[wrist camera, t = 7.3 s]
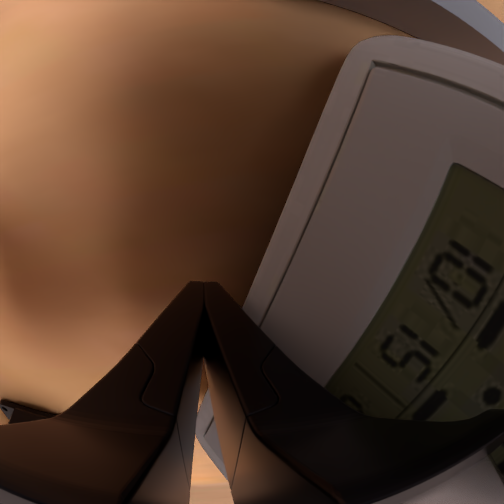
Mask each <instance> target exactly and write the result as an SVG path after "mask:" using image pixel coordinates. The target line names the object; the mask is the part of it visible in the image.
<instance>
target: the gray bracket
mask: <svg viewBox="0 0 504 504" xmlns="http://www.w3.org/2000/svg"><path fill="white" fill-rule="evenodd" d="M318 1H322V2H326V3H329V4H332V5H336V6H339V7H342V8H345V9H348V10H351V11H354V12H357V13H360V14H363V15H365V16H368V17H371V18H373V19H376V20H378V21H381V22H383V23H386V24H388V25H390V26H393V27H395V28H397V29H399V30H402V31H404V32H406V33H408V34H410V35H412V36H414V37H416V38H418V39H421V40H425V41H429V42H433V43H437V44H441V45H445V46H449V47H452V48H456V49H459V50H462V51H465V52H468V53H471V54H474V55H477V56H480V57H483V58H486V59H489V60H491V61H494V62H496V63H499V64H501V65H504V24H503V23H502V22H501V21H500V20H499V19H498V18H497V17H495V16H494V15H493V14H492V13H491V12H490V11H488V10H487V9H486V8H485V7H484V6H482V5H481V4H480V3H479V2H477V1H476V0H318Z"/></svg>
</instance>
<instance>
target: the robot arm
mask: <svg viewBox="0 0 504 504" xmlns="http://www.w3.org/2000/svg"><path fill="white" fill-rule="evenodd" d="M203 357H204V364H205V370H206V376H207V381H208V387H209V392H210V398H211V403H212V408H213V413H214V418H215V423H216V428H217V433H218V438H219V442H220V447H221V451H222V456H223V460H224V464H225V469H226V473H227V477H228V481H229V485H230V489H231V493H232V497H233V501H234V504H504V477H503V475H502V474H501V472H500V470H499V468H498V466H497V464H496V463H495V461H494V459H493V457H492V456H491V453H492V452H493V451H494V450H496V449H497V448H498V447H499V446H500V445H501V444H502V443H503V442H504V409H489V410H487V411H484V412H483V413H481V414H479V415H477V416H475V417H473V418H470V419H465V420H459V421H445V422H442V421H416V420H401V419H389V418H379V417H372V416H368V415H365V414H362V413H360V412H358V411H356V410H354V409H352V408H351V407H349V406H348V405H347V404H345V403H344V402H342V401H341V400H340V399H339V398H337V397H336V396H335V395H333V394H332V393H331V392H329V391H328V390H327V389H325V388H324V387H323V386H321V385H320V384H319V383H318V382H316V381H315V380H314V379H312V378H311V377H310V376H309V375H308V374H306V373H305V372H304V371H303V370H302V369H300V368H299V367H298V366H297V365H296V364H295V363H294V362H293V361H292V360H291V359H290V358H289V357H288V356H287V355H286V354H284V352H283V351H282V350H281V349H280V348H279V347H278V346H276V344H275V343H274V342H273V341H272V340H271V339H270V338H269V337H268V336H267V335H266V334H265V333H264V332H263V331H262V330H261V329H260V327H259V326H258V325H257V324H256V323H255V322H254V321H253V320H252V319H251V318H250V317H249V316H248V315H247V314H246V312H245V311H244V310H243V309H242V308H241V307H240V306H239V305H238V304H237V303H236V302H235V301H234V299H233V298H232V297H231V296H230V295H229V294H228V293H227V292H226V291H225V290H224V288H223V287H222V286H221V285H220V284H219V283H218V282H207V281H206V282H204V283H203V282H202V281H190V282H188V284H187V285H186V286H185V287H184V288H183V289H182V290H181V292H180V293H179V294H178V295H177V296H176V297H175V298H174V300H173V301H172V302H171V303H170V304H169V305H168V306H167V308H166V309H165V310H164V311H163V312H162V313H161V314H160V316H159V317H158V318H157V319H156V320H155V321H154V323H153V324H152V325H151V326H150V327H149V328H148V330H147V331H146V332H145V333H144V334H143V335H142V337H141V338H140V339H139V340H138V341H137V343H136V344H134V346H133V347H132V348H131V349H130V350H129V352H128V353H127V354H126V355H125V356H124V357H123V358H122V359H121V360H120V361H119V363H118V364H117V365H116V366H115V367H114V368H113V369H111V370H110V371H109V372H108V373H107V374H106V375H105V376H104V377H103V378H102V379H101V380H100V381H99V382H98V383H96V384H95V385H94V386H93V387H92V388H91V389H90V390H89V391H88V392H87V393H85V394H84V395H83V396H82V397H81V398H80V399H79V400H78V401H77V402H76V403H74V404H73V405H72V406H71V407H70V408H69V409H67V410H66V411H64V412H63V413H61V414H59V415H57V416H56V415H52V414H48V413H44V412H40V411H36V410H33V409H29V408H26V407H23V406H19V405H16V404H13V403H10V402H7V401H4V400H1V401H0V408H1V410H2V411H3V412H4V414H5V415H6V416H7V418H8V419H9V423H8V424H6V425H0V504H189V500H190V486H191V474H192V462H193V450H194V440H195V429H196V419H197V410H198V400H199V391H200V382H201V373H202V365H203Z"/></svg>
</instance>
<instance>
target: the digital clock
mask: <svg viewBox="0 0 504 504" xmlns="http://www.w3.org/2000/svg"><path fill="white" fill-rule="evenodd" d="M242 309H243V310H244V311H245V312H246V314H247V315H248V316H249V317H250V318H251V319H252V320H253V321H254V322H255V323H256V324H257V325H258V326H259V327H260V329H261V330H262V331H263V332H264V333H265V334H266V335H267V336H268V337H269V338H270V339H271V340H272V341H273V342H274V343H275V344H276V346H278V347H279V348H280V349H281V350H282V351H283V352H284V354H286V355H287V356H288V357H289V358H290V359H291V360H292V361H293V362H294V363H295V364H296V365H297V366H298V367H299V368H300V369H302V370H303V371H304V372H305V373H306V374H308V375H309V376H310V377H311V378H312V379H314V380H315V381H316V382H318V383H319V384H320V385H321V386H323V387H324V388H325V389H327V390H328V391H329V392H331V393H332V394H333V395H335V396H336V397H337V398H339V399H340V400H341V401H342V402H344V403H345V404H347V405H348V406H349V407H351V408H352V409H354V410H356V411H358V412H360V413H362V414H365V415H368V416H372V417H379V418H389V419H401V420H416V421H442V422H445V421H459V420H465V419H470V418H473V417H475V416H477V415H479V414H481V413H483V412H484V411H487V410H489V409H504V65H501V64H499V63H496V62H494V61H491V60H489V59H486V58H483V57H480V56H477V55H474V54H471V53H468V52H465V51H462V50H459V49H456V48H452V47H449V46H445V45H441V44H437V43H433V42H429V41H425V40H421V39H416V38H411V37H404V36H397V35H383V36H374V37H371V38H368V39H365V40H363V41H360V42H359V43H357V44H356V45H355V46H354V47H353V48H352V49H351V51H350V52H349V54H348V55H347V57H346V59H345V61H344V63H343V65H342V67H341V69H340V72H339V74H338V76H337V79H336V81H335V84H334V86H333V88H332V91H331V93H330V95H329V98H328V100H327V103H326V105H325V108H324V110H323V112H322V115H321V117H320V120H319V122H318V125H317V127H316V130H315V132H314V135H313V137H312V139H311V142H310V144H309V147H308V149H307V152H306V154H305V157H304V159H303V162H302V164H301V167H300V169H299V172H298V174H297V177H296V179H295V182H294V184H293V187H292V189H291V191H290V194H289V196H288V199H287V201H286V204H285V206H284V209H283V211H282V214H281V216H280V218H279V221H278V223H277V226H276V228H275V231H274V233H273V235H272V238H271V240H270V243H269V245H268V248H267V250H266V252H265V255H264V257H263V260H262V262H261V264H260V267H259V269H258V272H257V274H256V276H255V279H254V281H253V284H252V286H251V288H250V291H249V293H248V296H247V298H246V300H245V303H244V305H243V307H242ZM195 435H196V437H197V439H198V441H199V443H200V444H201V446H202V447H203V449H204V450H205V452H206V453H207V454H208V456H209V457H210V458H211V460H212V461H213V462H214V464H215V465H216V466H217V468H218V469H219V470H220V471H221V473H222V474H223V475H224V477H225V478H226V479H227V480H228V477H227V473H226V469H225V464H224V460H223V456H222V451H221V447H220V442H219V438H218V433H217V428H216V423H215V418H214V413H213V408H212V403H211V398H210V392H209V387H208V389H207V392H206V394H205V397H204V399H203V401H202V404H201V406H200V409H199V411H198V414H197V419H196V429H195ZM491 456H492V457H493V459H494V461H495V463H496V464H497V466H498V468H499V470H500V472H501V474H502V475H503V477H504V442H503V443H502V444H501V445H500V446H499V447H498V448H497V449H496V450H494V451H493V452H492V453H491Z"/></svg>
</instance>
